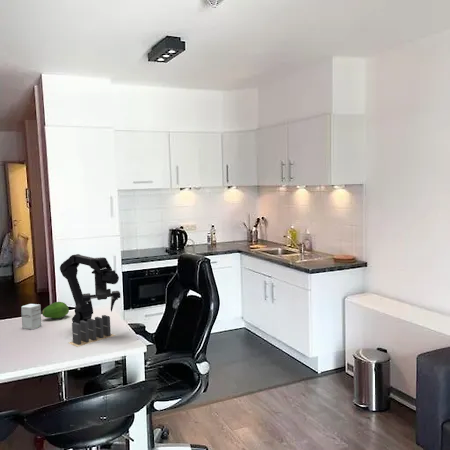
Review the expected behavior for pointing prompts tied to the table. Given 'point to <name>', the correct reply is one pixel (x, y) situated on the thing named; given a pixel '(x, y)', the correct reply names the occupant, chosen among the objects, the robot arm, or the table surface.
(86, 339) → the domino
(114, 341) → the table surface
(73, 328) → the domino
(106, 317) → the domino
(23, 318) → the supplement box
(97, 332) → the domino
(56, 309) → the fruit
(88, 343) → the board
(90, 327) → the domino
